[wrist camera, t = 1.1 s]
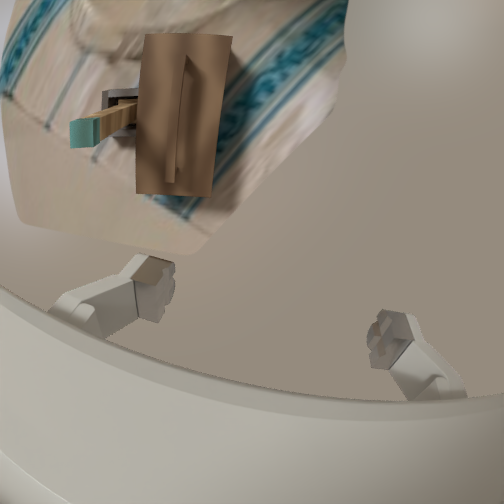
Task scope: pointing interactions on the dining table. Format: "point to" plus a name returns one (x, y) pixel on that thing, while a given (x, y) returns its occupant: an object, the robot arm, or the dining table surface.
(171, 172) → the toolbox
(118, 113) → the wooden key
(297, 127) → the dining table surface
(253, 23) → the dining table surface
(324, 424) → the robot arm
